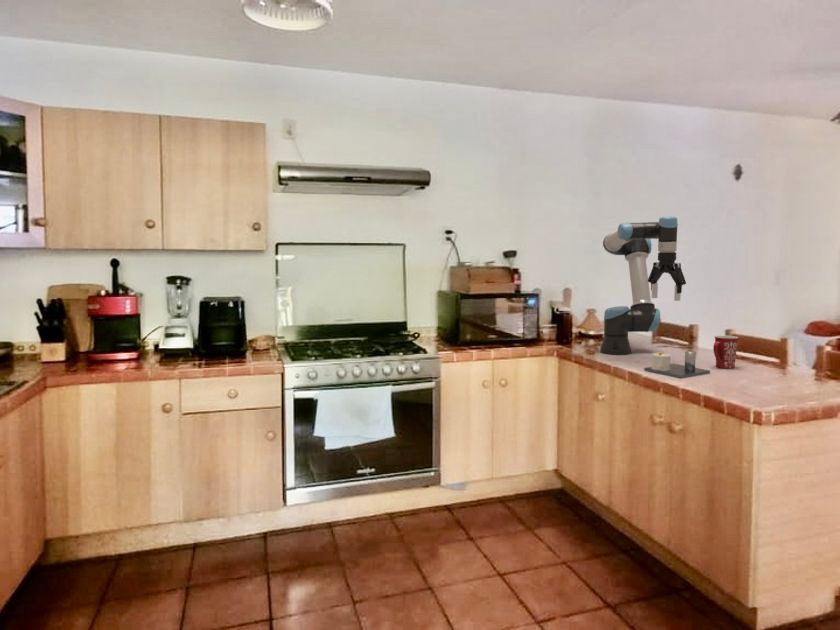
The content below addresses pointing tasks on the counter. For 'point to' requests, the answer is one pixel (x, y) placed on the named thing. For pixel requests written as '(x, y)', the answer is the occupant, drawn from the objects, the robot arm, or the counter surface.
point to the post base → (682, 368)
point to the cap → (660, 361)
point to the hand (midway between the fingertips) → (665, 299)
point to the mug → (725, 351)
